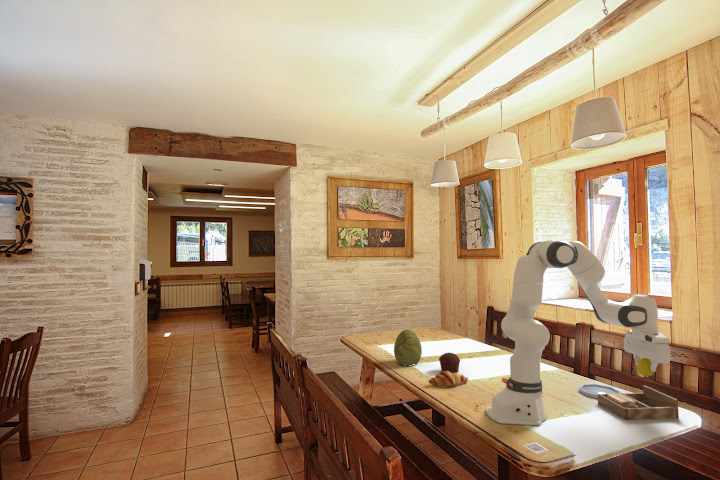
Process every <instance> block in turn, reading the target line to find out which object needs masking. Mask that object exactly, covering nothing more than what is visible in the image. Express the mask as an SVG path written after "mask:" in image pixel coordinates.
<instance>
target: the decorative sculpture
mask: <svg viewBox="0 0 720 480" xmlns="http://www.w3.org/2000/svg"><path fill="white" fill-rule="evenodd" d="M422 350H423V349H422V345H421V341H420V338H419V337H418V335H417V334H416V333H415V332H414V330H411V329H409V328H407V329H403V330H401V332H400V333H398V335H397V336H396V339H395V342H394V346H393V354H394V358H395V360H396V362H397V363H398V364H399V363H400V364H405V365H413V364H416V365H418V364H419V363H420V360H421V358H422V354H423V353H422V352H423V351H422ZM400 364H399V365H400ZM413 366H414V365H413Z"/></svg>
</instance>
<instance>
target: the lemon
mask: <svg viewBox="0 0 720 480" xmlns="http://www.w3.org/2000/svg"><path fill="white" fill-rule="evenodd" d="M651 364H652V363H651V360H649V359H646V358H644V357H642V358H640V360H639V362H638V365H636V366H637V370H638V371H637V372H638V373H639V374H641V375H642V376H643V377H645V378H649V377H651V376H653V374H655V372H653V371H650V370H649V366H651Z"/></svg>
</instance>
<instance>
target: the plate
mask: <svg viewBox="0 0 720 480" xmlns="http://www.w3.org/2000/svg"><path fill="white" fill-rule="evenodd" d="M578 392H579V393H581V394H582V395H583V396H586V397H588V398H592V399H597V400H598V394H613V393H622V391H621V390H618V389H617V388H614V387H613V386H609V385H604V384H598V383H583V384H582V383H581V385H580V386H578Z"/></svg>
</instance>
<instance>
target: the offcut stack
mask: <svg viewBox="0 0 720 480" xmlns="http://www.w3.org/2000/svg"><path fill="white" fill-rule="evenodd" d="M607 397H608V399H610V400H612V401H614V402H616V403H618V404H619V405H621V406H623V407H625V408H638V406H636V401H634V400H632V399H630V398H628V397H626V396H624V395H622V394H607Z"/></svg>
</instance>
